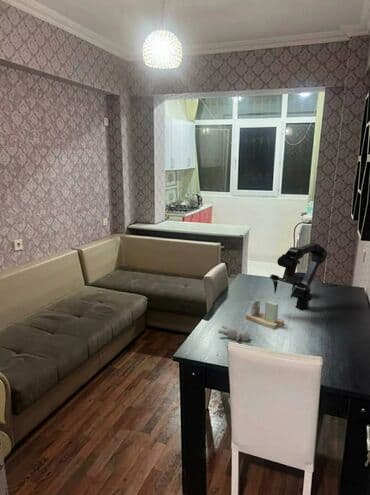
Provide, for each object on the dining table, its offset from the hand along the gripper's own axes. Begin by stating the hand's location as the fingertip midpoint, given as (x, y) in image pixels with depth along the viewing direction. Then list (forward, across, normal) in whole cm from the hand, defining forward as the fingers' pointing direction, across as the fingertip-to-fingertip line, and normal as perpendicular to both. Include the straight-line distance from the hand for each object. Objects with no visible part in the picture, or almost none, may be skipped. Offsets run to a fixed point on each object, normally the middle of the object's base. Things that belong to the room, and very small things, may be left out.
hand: (282, 295), depth 203 cm
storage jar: (-1, +18, +37) cm, 41 cm away
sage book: (+14, -4, -8) cm, 17 cm away
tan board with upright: (+16, -7, -5) cm, 18 cm away
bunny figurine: (+26, -22, -26) cm, 43 cm away
